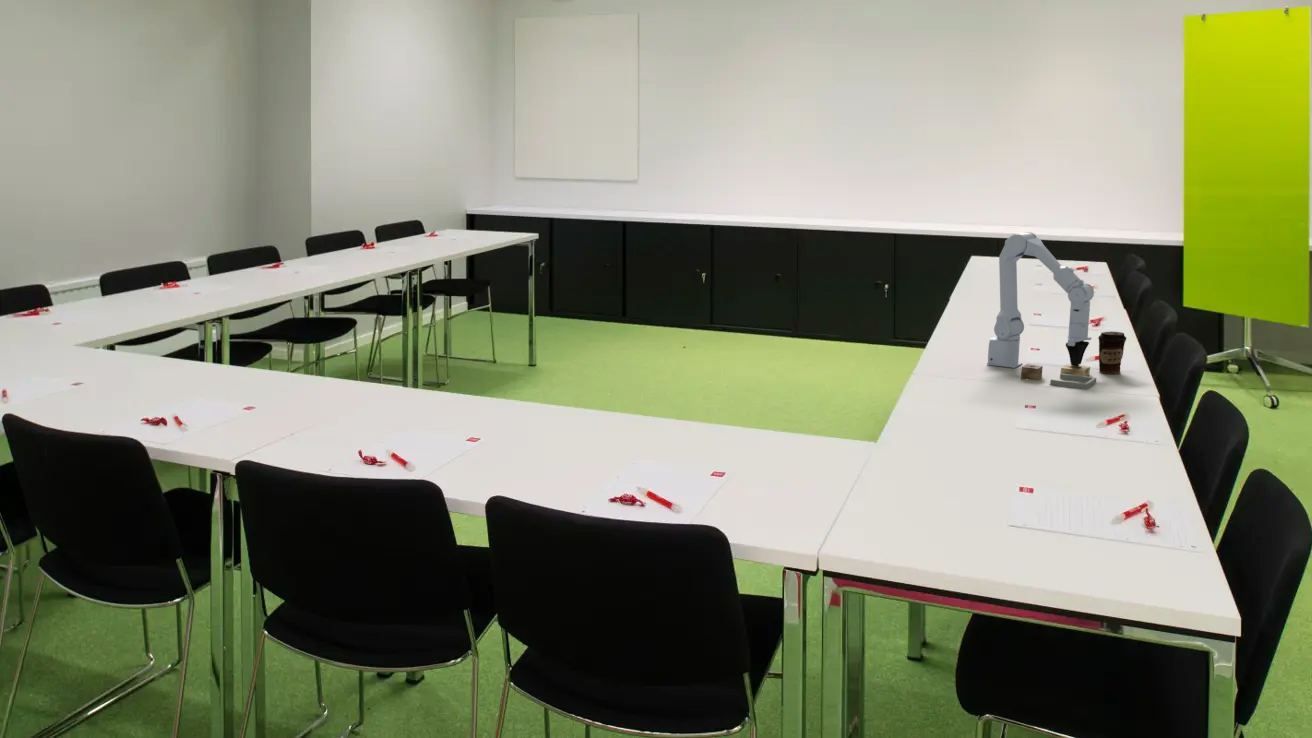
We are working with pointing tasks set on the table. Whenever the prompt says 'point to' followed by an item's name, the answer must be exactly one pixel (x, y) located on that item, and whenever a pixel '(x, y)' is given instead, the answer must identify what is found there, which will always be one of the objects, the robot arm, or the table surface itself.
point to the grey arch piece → (1088, 380)
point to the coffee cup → (1111, 351)
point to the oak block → (1075, 370)
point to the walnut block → (1031, 372)
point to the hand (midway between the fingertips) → (1075, 364)
